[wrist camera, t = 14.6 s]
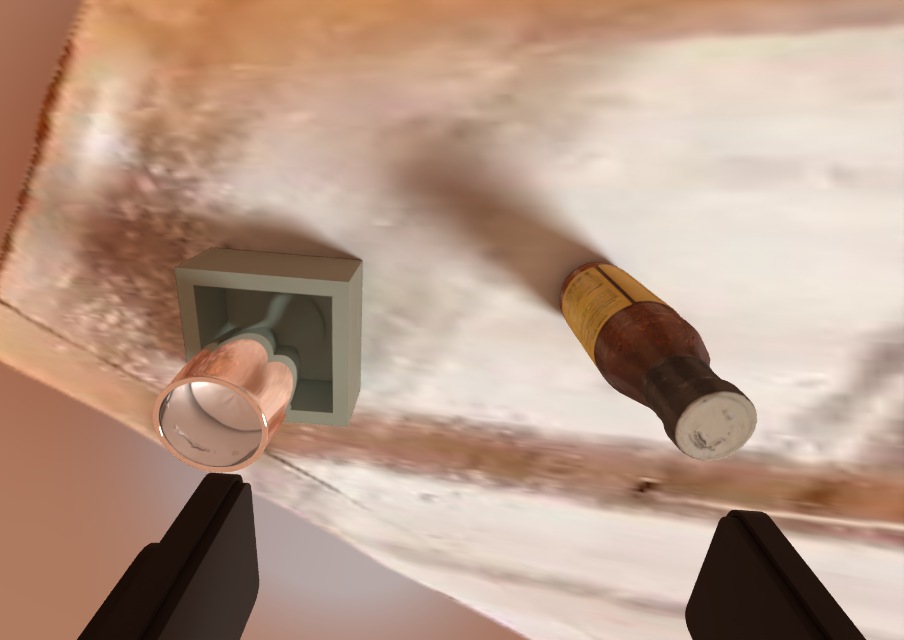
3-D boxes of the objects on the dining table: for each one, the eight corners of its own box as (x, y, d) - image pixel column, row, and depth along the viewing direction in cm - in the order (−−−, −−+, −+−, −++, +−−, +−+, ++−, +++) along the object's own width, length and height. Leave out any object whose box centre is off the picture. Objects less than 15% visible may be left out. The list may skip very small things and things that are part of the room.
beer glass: (301, 272, 41) (222, 354, 27) (345, 341, 43) (294, 449, 29) (232, 308, 42) (122, 404, 28) (279, 373, 44) (199, 491, 30)
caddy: (211, 247, 41) (174, 267, 35) (362, 260, 41) (348, 282, 36) (224, 379, 45) (193, 415, 40) (360, 390, 46) (347, 426, 40)
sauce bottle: (561, 333, 43) (640, 493, 25) (552, 266, 41) (633, 388, 23) (636, 320, 43) (773, 473, 25) (632, 250, 41) (780, 363, 22)
